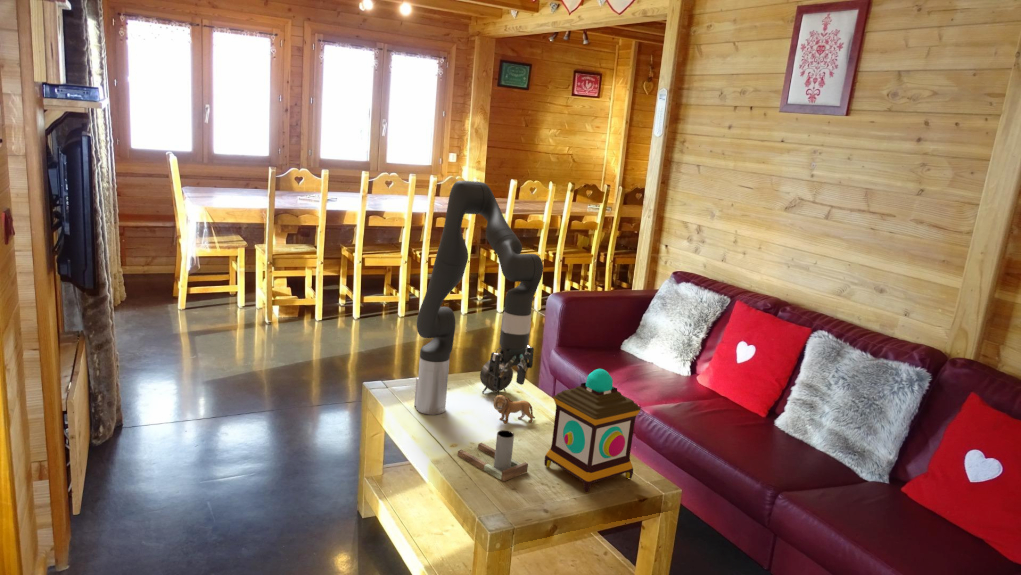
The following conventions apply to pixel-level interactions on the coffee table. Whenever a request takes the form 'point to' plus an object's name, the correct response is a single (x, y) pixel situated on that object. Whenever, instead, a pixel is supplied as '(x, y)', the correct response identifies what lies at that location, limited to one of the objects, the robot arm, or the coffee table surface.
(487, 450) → the guide channel
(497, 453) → the grey hollow cylinder
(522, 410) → the lion figurine
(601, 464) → the decorative lantern
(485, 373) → the alarm clock
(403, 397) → the coffee table surface
